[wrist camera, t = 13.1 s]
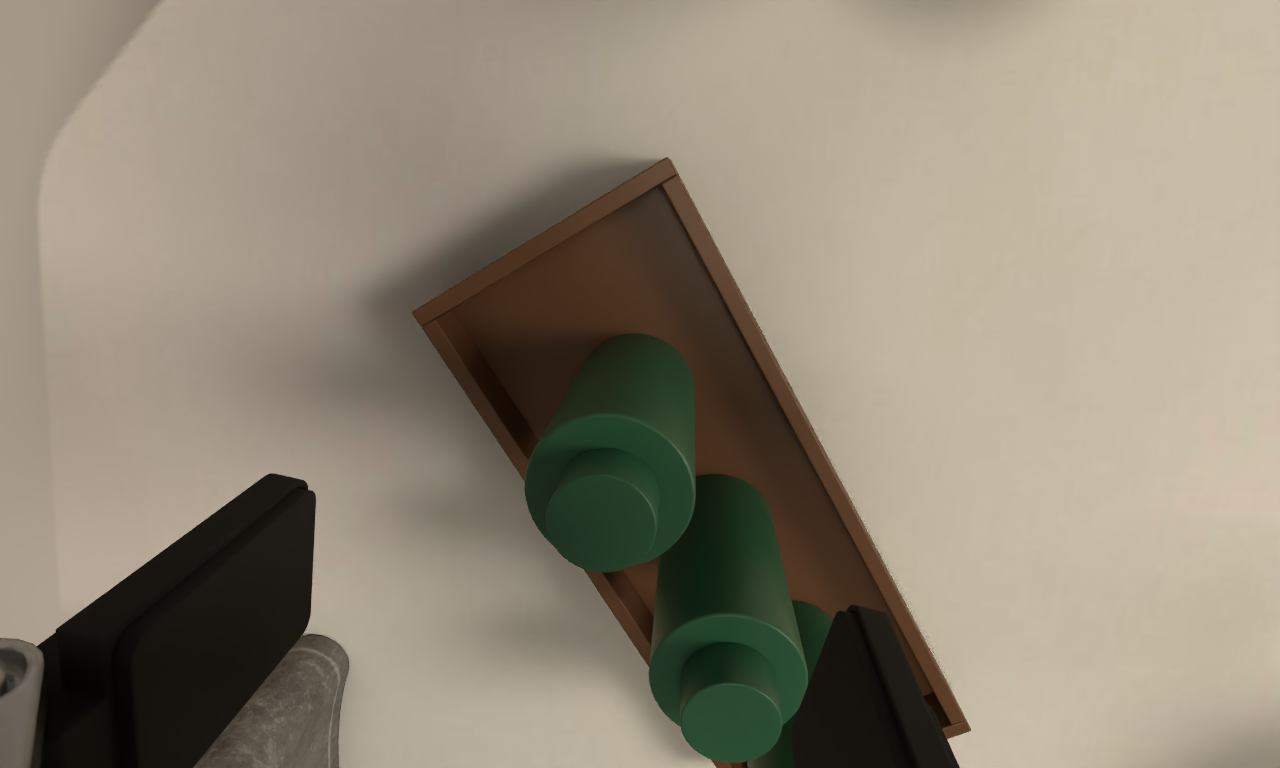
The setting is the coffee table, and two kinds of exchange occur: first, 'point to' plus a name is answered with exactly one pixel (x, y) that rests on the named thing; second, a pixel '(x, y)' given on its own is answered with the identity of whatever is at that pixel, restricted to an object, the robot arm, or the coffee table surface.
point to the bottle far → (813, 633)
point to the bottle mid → (726, 627)
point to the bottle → (618, 457)
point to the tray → (723, 379)
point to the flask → (288, 714)
